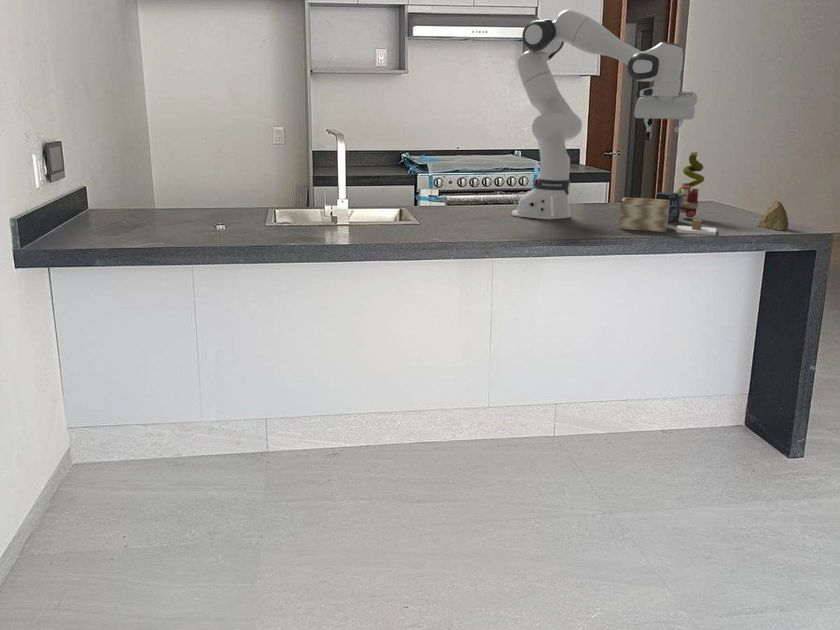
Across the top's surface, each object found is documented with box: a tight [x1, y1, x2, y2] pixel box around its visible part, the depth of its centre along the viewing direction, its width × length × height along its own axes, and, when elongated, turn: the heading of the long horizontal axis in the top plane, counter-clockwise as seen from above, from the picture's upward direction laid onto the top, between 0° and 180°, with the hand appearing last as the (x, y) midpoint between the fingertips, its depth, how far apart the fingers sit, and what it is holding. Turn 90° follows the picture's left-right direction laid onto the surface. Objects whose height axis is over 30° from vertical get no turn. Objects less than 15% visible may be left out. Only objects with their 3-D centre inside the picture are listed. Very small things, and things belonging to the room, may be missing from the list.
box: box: [655, 191, 682, 223], centre depth 297 cm, size 8×6×11 cm
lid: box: [675, 218, 717, 236], centre depth 277 cm, size 13×8×5 cm, turn 70°
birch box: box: [618, 197, 670, 233], centre depth 282 cm, size 16×10×10 cm, turn 71°
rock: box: [757, 199, 789, 231], centre depth 285 cm, size 11×9×10 cm
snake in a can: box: [675, 151, 705, 218], centre depth 301 cm, size 12×10×25 cm
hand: (662, 132), depth 279 cm, fingers open, 8 cm apart
